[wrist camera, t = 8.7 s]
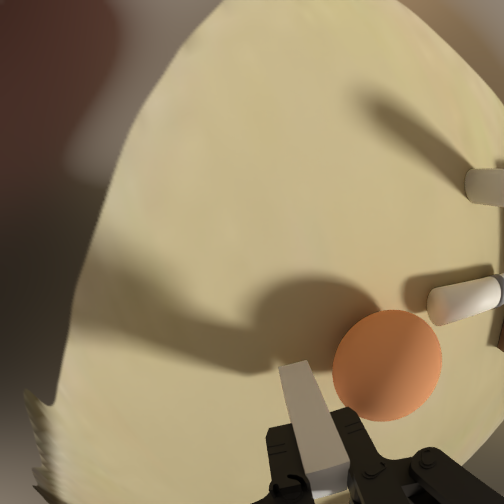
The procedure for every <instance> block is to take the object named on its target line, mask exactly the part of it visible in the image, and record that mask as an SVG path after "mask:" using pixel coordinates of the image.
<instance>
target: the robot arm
mask: <svg viewBox="0 0 504 504" xmlns="http://www.w3.org/2000/svg"><path fill="white" fill-rule="evenodd" d="M278 369H279V374H280V379H281V383H282V388H283V392H284V397H285V402H286V406H287V410H288V414H289V418H290V422H291V423H290V424H286V425H281V426H277V427H272V428H269V430H268V432H267V435H266V444H267V451H268V458H269V465H270V471H271V478H272V481H271V483H270V485H269V493H268V495H267V496H265V497H264V498H263V499H261V500H259V501H257V502H254V503H252V504H315V503H314V499H317V498H321V497H324V496H328V495H332V494H335V493H338V492H341V491H345V490H347V486H348V489H349V492H350V494H351V495H350V500H349V504H504V497H503V496H501V495H500V494H498V493H497V492H496V491H494V490H493V489H491V488H490V487H489V486H487V485H486V484H485V483H483V482H482V481H480V480H479V479H478V478H476V477H475V476H474V475H472V474H471V473H470V472H468V471H467V470H465V469H464V468H463V467H462V466H460V465H459V464H458V463H456V462H455V461H454V460H453V459H451V458H450V457H449V456H447V455H446V454H445V453H444V452H442V451H441V450H439V449H437V448H435V447H427V448H423V449H421V450H419V451H418V452H417V453H416V454H415V455H414V456H413V457H409V458H404V459H398V460H390V459H386V458H384V457H382V456H381V455H380V454H379V453H378V452H377V450H376V448H375V446H374V444H373V442H372V440H371V439H370V437H369V435H368V433H367V431H366V429H365V427H364V425H363V423H362V422H361V420H360V418H359V416H358V414H357V412H355V411H354V410H352V409H351V408H350V407H345V408H342V409H339V410H336V411H333V412H329V410H328V408H327V405H326V403H325V401H324V398H323V396H322V393H321V391H320V389H319V386H318V384H317V382H316V380H315V377H314V375H313V373H312V370H311V368H310V366H309V363H308V361H307V360H304V361H301V362H297V363H293V364H289V365H284V366H280V367H278Z"/></svg>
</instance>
